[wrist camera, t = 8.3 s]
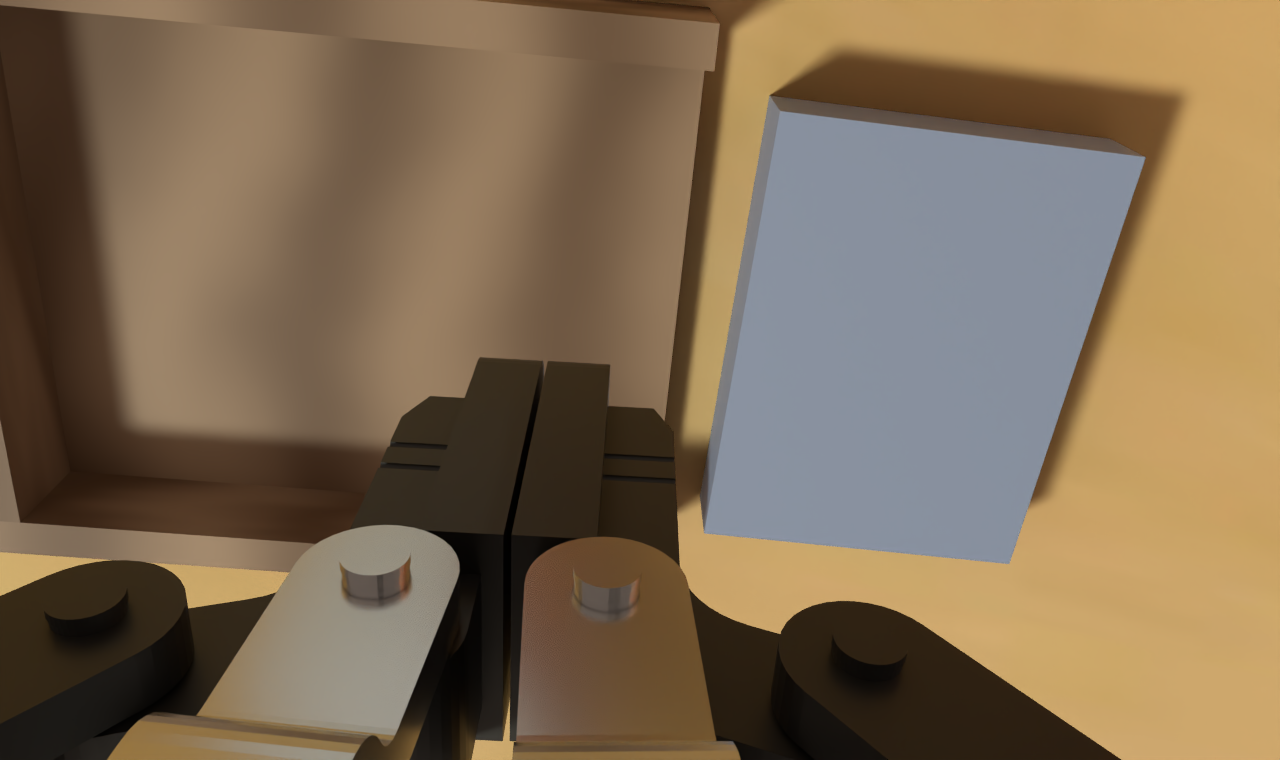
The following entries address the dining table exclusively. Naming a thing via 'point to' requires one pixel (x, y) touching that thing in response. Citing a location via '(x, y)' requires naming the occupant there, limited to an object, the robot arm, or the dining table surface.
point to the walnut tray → (314, 245)
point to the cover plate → (906, 326)
